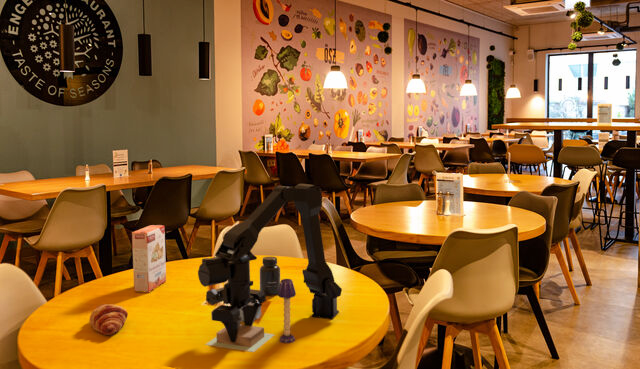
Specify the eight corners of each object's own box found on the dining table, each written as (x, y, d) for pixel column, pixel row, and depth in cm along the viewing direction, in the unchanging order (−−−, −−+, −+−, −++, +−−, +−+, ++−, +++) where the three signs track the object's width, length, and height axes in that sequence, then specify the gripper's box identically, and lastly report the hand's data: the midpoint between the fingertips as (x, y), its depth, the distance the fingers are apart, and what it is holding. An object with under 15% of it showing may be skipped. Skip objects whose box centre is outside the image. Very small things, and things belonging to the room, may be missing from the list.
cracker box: (150, 293, 190) (147, 232, 188) (133, 292, 191) (130, 232, 189) (167, 281, 204) (165, 224, 201) (152, 280, 205) (149, 224, 202)
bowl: (264, 315, 167) (264, 300, 167) (252, 324, 160) (251, 309, 159) (241, 312, 170) (240, 298, 170) (227, 321, 163) (227, 306, 162)
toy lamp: (300, 341, 147) (299, 279, 145) (287, 347, 143) (286, 283, 141) (287, 337, 150) (286, 276, 148) (274, 342, 146) (273, 280, 144)
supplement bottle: (271, 297, 184) (270, 261, 182) (255, 293, 188) (254, 258, 186) (284, 292, 189) (283, 257, 188) (269, 288, 193) (268, 254, 192)
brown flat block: (264, 336, 149) (264, 327, 149) (251, 347, 142) (250, 337, 142) (231, 332, 153) (230, 323, 152) (216, 342, 146) (216, 332, 146)
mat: (274, 336, 151) (274, 334, 151) (253, 353, 139) (253, 351, 139) (229, 329, 156) (229, 328, 156) (205, 346, 144) (205, 344, 144)
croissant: (96, 327, 169) (81, 306, 167) (126, 307, 172) (112, 286, 170) (102, 351, 150) (85, 328, 148) (135, 328, 153) (119, 305, 151)
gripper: (229, 267, 157) (231, 321, 159) (191, 285, 140) (194, 346, 142) (265, 270, 153) (267, 325, 155) (231, 290, 136) (233, 352, 138)
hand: (240, 336), depth 147 cm, fingers closed on brown flat block, 7 cm apart
